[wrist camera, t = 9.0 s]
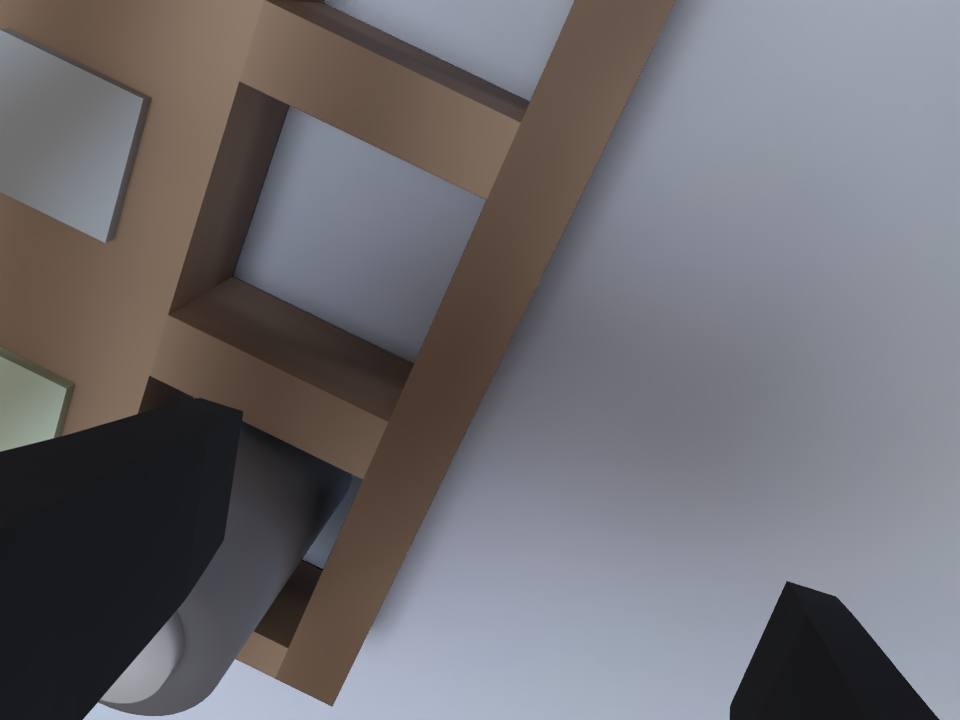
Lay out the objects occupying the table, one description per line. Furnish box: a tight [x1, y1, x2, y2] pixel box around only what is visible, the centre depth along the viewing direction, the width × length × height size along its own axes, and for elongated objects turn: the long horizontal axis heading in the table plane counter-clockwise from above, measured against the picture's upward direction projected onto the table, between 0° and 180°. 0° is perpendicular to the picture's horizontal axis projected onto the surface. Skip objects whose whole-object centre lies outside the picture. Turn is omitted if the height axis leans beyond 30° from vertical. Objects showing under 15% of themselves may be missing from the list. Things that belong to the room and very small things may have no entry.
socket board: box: [0, 0, 676, 706], centre depth 19 cm, size 12×20×3 cm, turn 156°
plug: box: [98, 421, 352, 716], centre depth 19 cm, size 4×4×8 cm
